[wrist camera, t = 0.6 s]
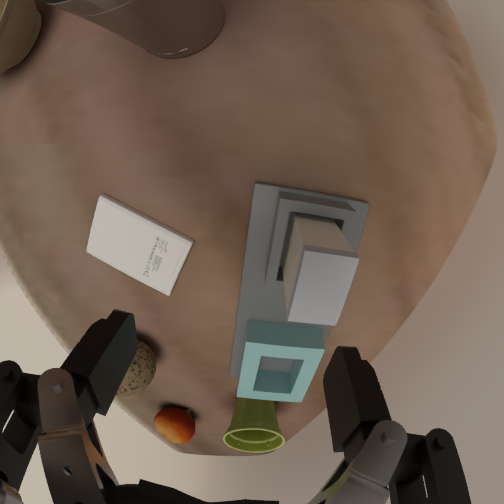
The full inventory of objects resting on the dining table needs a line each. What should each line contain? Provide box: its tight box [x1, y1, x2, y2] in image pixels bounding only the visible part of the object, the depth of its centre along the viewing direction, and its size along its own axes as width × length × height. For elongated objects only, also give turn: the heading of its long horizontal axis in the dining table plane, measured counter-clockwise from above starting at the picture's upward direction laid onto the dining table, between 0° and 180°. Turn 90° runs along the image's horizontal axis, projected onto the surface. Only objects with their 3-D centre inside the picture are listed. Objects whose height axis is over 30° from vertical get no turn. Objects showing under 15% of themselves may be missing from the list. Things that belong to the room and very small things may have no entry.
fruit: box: [154, 407, 195, 444], centre depth 43 cm, size 8×8×8 cm
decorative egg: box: [116, 340, 156, 397], centre depth 34 cm, size 7×7×10 cm
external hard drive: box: [87, 194, 194, 296], centre depth 31 cm, size 2×8×12 cm
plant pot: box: [223, 397, 285, 452], centre depth 38 cm, size 9×9×9 cm
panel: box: [229, 182, 370, 402], centre depth 31 cm, size 28×12×5 cm, turn 172°
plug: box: [282, 211, 360, 326], centre depth 24 cm, size 6×4×10 cm, turn 172°
